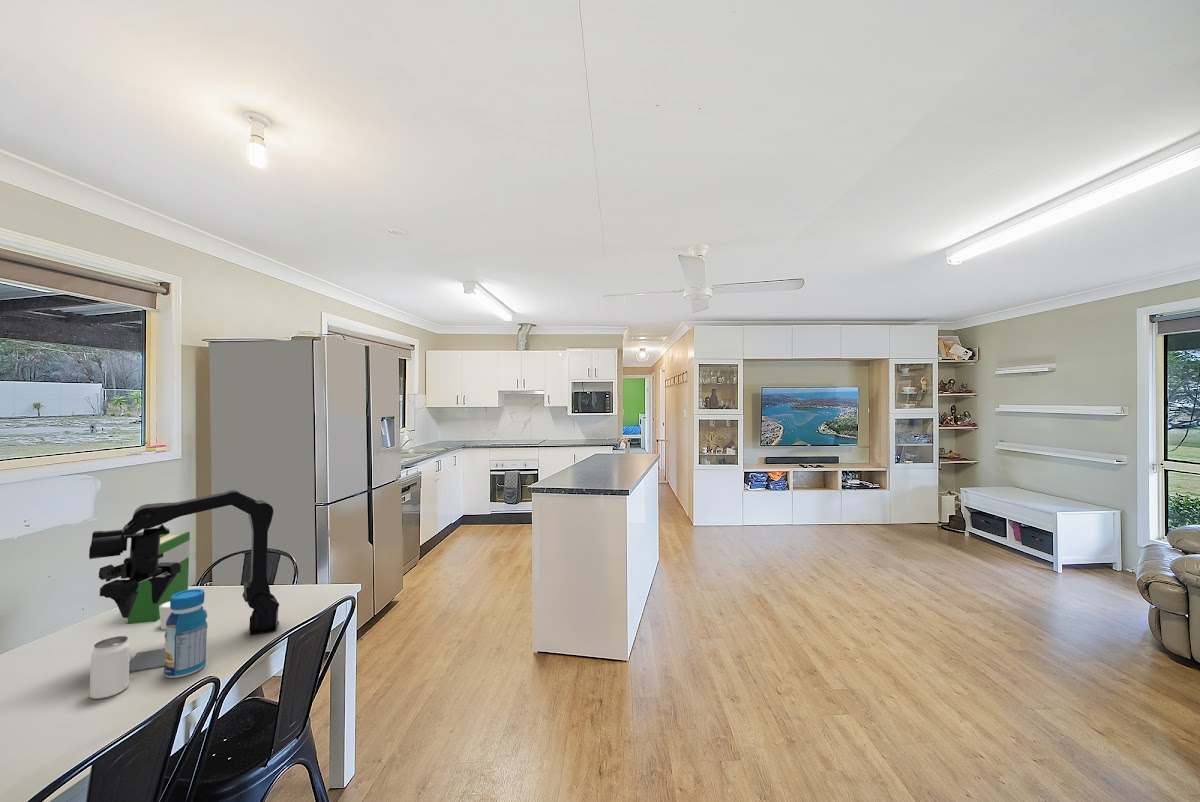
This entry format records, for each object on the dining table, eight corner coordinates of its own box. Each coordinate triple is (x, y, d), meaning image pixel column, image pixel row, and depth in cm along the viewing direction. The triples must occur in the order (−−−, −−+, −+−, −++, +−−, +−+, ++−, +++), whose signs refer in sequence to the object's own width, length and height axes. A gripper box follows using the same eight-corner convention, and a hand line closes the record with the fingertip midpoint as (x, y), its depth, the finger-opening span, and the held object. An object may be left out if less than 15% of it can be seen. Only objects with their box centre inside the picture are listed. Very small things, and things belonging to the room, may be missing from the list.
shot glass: (170, 620, 149) (171, 598, 149) (193, 620, 150) (194, 598, 150) (151, 631, 142) (152, 607, 142) (176, 630, 143) (176, 607, 143)
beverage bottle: (191, 678, 118) (194, 599, 119) (154, 680, 117) (157, 600, 117) (213, 660, 127) (216, 586, 127) (178, 662, 125) (181, 587, 126)
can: (102, 701, 108) (104, 650, 109) (81, 697, 110) (83, 646, 110) (135, 685, 115) (137, 636, 115) (115, 682, 116) (117, 633, 116)
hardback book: (161, 601, 163) (164, 532, 164) (187, 599, 165) (189, 531, 166) (127, 624, 146) (130, 547, 147) (156, 621, 149) (159, 545, 149)
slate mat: (188, 645, 134) (188, 644, 134) (174, 665, 124) (174, 663, 124) (137, 654, 129) (137, 652, 129) (118, 674, 119) (118, 673, 119)
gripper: (141, 542, 135) (137, 597, 134) (77, 563, 116) (72, 626, 116) (183, 542, 136) (180, 596, 135) (127, 563, 117) (122, 625, 117)
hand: (140, 610), depth 126 cm, fingers open, 9 cm apart
